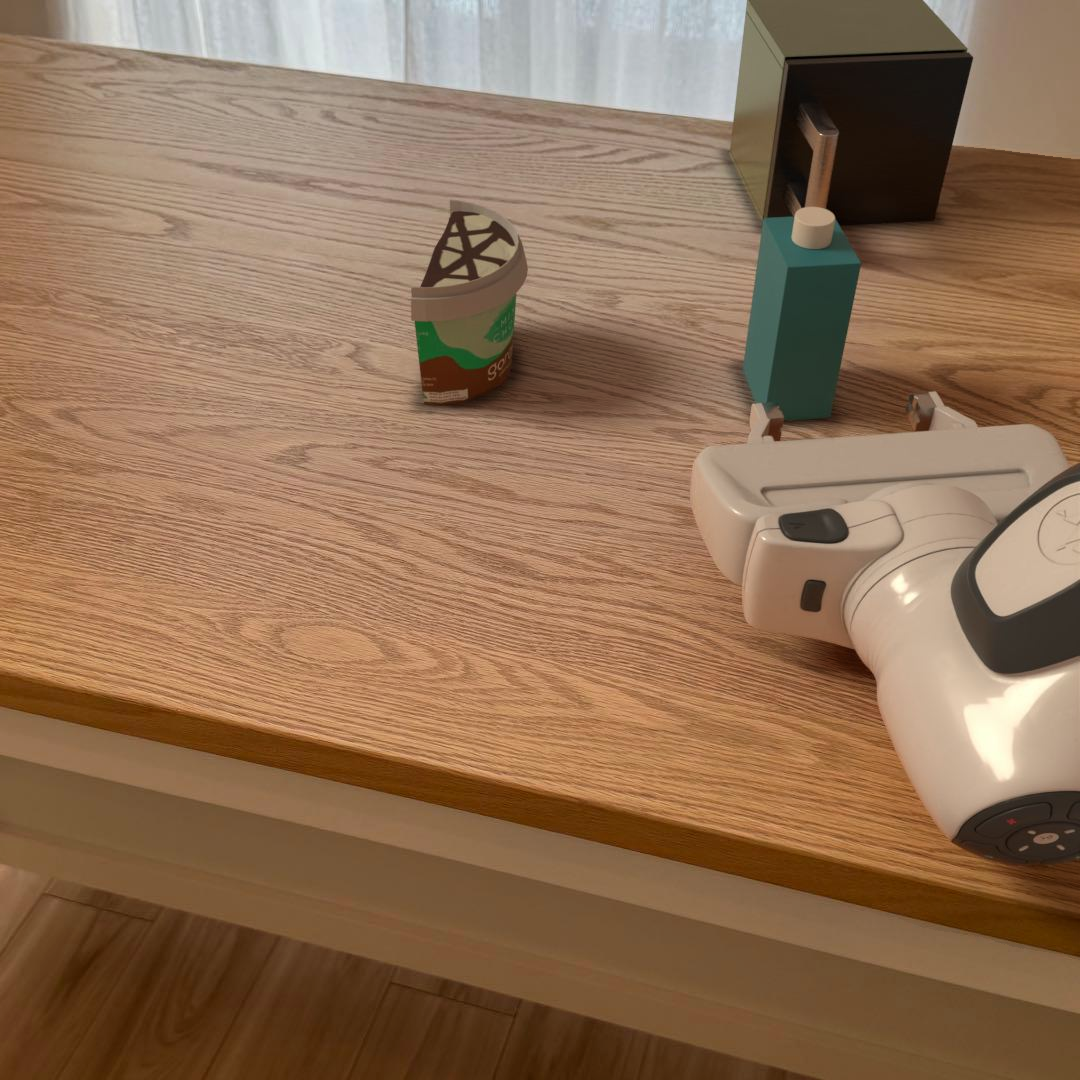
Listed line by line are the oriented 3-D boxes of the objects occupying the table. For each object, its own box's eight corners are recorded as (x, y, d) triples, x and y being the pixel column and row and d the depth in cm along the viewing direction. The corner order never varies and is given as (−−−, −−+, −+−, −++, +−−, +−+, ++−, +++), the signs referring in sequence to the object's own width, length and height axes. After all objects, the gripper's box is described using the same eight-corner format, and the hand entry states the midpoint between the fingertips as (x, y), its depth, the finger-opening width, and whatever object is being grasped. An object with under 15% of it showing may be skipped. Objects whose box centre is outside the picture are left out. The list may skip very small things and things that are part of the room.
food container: (511, 433, 81) (509, 301, 74) (419, 423, 82) (408, 292, 75) (541, 329, 90) (541, 202, 83) (457, 321, 91) (451, 195, 84)
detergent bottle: (805, 371, 86) (837, 190, 77) (829, 424, 82) (866, 239, 73) (741, 375, 86) (766, 194, 77) (762, 428, 81) (791, 242, 72)
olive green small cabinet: (927, 219, 102) (968, 48, 92) (761, 228, 101) (784, 56, 91) (882, 153, 111) (915, -9, 101) (728, 160, 110) (747, -3, 100)
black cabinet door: (958, 261, 97) (1003, 89, 87) (783, 271, 96) (809, 98, 86) (929, 219, 102) (969, 51, 92) (761, 227, 101) (785, 59, 91)
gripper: (1137, 509, 61) (1026, 350, 71) (730, 540, 60) (676, 373, 70) (1097, 598, 66) (999, 436, 76) (717, 629, 64) (668, 460, 74)
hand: (841, 406), depth 73 cm, fingers open, 8 cm apart
